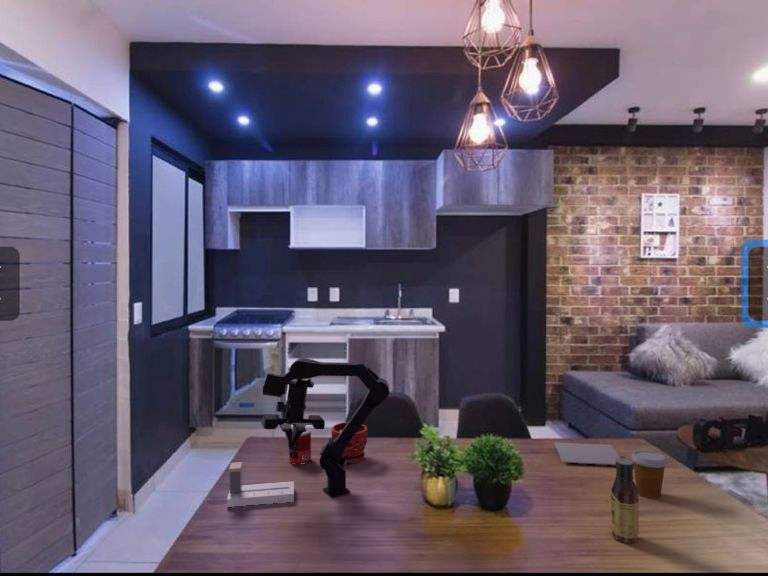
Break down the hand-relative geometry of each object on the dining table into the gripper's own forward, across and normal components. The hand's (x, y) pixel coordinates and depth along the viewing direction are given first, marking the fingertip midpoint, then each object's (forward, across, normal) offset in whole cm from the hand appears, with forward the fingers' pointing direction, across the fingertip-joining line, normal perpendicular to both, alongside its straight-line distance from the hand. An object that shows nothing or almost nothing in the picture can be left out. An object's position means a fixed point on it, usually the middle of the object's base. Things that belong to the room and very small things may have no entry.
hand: (289, 449), depth 150 cm
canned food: (+14, -11, -23) cm, 29 cm away
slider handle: (+12, +15, 0) cm, 19 cm away
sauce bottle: (+1, -72, +61) cm, 95 cm away
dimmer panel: (+14, +7, +2) cm, 16 cm away
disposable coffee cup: (-2, -100, +46) cm, 111 cm away
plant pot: (+11, -28, -18) cm, 35 cm away
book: (0, -106, +16) cm, 108 cm away
